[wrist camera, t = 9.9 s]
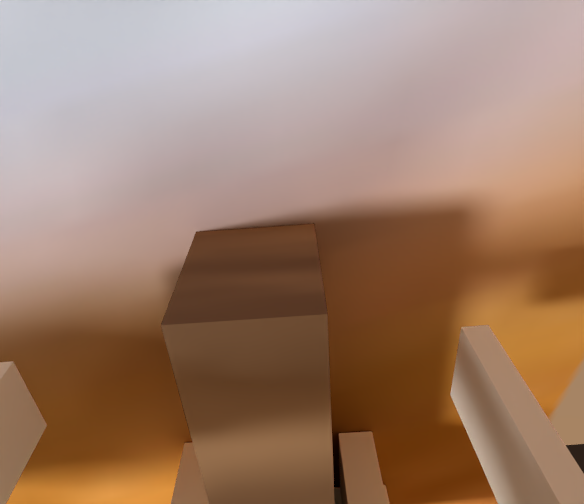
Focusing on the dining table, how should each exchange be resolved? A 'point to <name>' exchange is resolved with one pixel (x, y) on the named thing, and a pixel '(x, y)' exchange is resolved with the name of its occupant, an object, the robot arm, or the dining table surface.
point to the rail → (255, 364)
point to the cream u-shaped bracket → (348, 498)
